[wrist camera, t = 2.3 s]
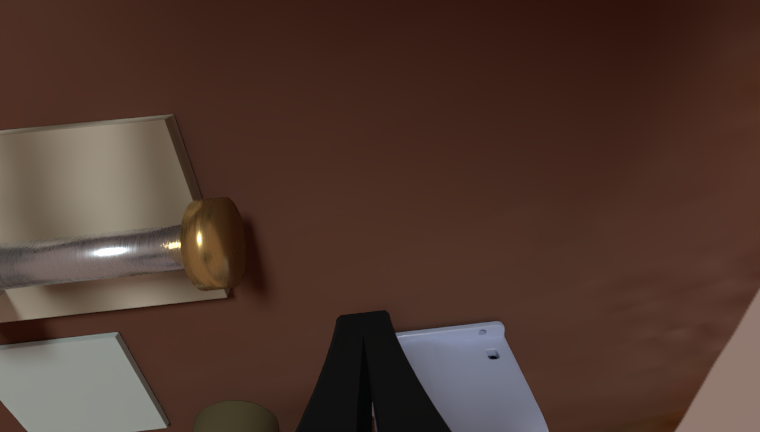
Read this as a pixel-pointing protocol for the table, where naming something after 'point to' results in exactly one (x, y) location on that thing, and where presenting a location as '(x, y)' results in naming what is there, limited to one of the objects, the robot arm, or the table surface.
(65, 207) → the shaft bracket
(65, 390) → the pale green mat
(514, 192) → the table surface
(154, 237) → the shaft
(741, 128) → the table surface
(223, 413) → the olive stepped cylinder
